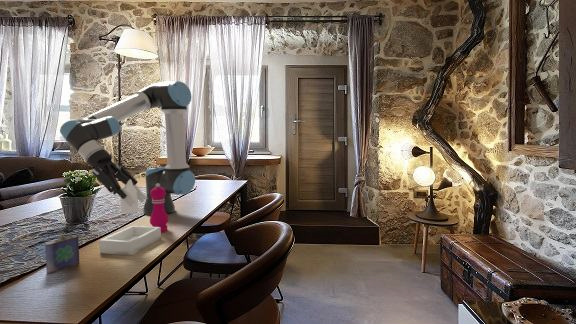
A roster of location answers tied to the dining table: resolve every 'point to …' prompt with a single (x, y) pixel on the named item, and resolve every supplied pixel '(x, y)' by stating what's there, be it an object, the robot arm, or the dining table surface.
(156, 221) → the pepper mill
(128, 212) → the white pointed block
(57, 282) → the dining table surface
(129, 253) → the tray
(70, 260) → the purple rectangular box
